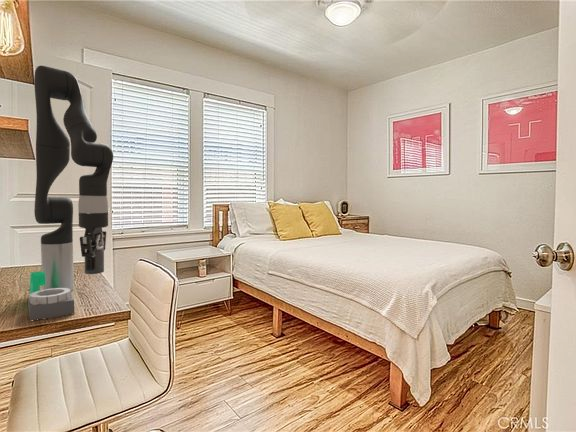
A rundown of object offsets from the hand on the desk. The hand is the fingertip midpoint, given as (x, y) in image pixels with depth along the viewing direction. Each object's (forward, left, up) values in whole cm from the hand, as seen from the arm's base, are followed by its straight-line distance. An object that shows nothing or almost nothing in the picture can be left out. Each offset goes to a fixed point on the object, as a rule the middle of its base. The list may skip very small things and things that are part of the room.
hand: (94, 267), depth 99 cm
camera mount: (-9, -17, -13) cm, 23 cm away
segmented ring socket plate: (+2, -11, -12) cm, 17 cm away
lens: (0, 0, -1) cm, 1 cm away
